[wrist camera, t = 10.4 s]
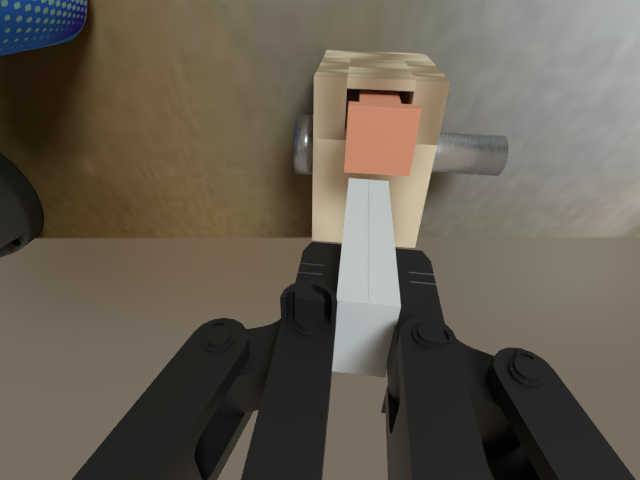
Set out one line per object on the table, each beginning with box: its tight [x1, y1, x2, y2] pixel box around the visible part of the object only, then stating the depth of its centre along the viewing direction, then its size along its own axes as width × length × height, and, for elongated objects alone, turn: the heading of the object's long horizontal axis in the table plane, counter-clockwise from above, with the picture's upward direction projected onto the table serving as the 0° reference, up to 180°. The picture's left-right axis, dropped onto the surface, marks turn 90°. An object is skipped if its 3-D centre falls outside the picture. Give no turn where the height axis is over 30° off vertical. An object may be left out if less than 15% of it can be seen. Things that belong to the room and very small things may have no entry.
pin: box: [293, 114, 508, 176], centre depth 28 cm, size 16×5×5 cm, turn 89°
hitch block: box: [312, 50, 451, 248], centre depth 29 cm, size 8×12×10 cm, turn 179°
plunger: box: [344, 89, 422, 176], centre depth 22 cm, size 4×4×8 cm
